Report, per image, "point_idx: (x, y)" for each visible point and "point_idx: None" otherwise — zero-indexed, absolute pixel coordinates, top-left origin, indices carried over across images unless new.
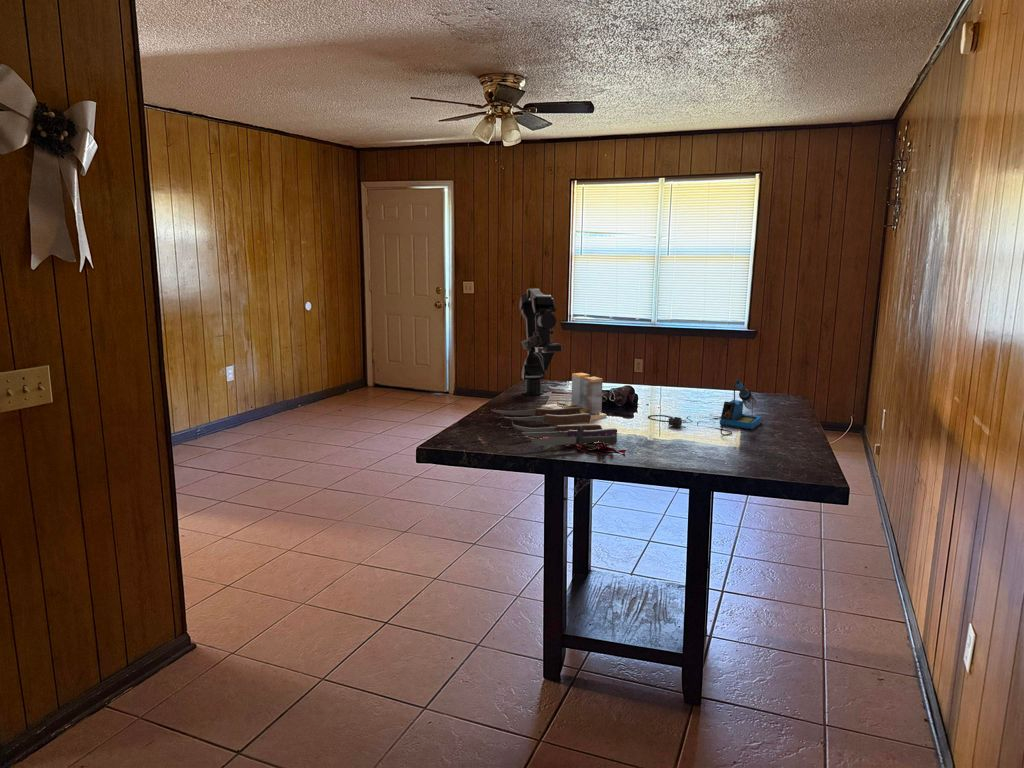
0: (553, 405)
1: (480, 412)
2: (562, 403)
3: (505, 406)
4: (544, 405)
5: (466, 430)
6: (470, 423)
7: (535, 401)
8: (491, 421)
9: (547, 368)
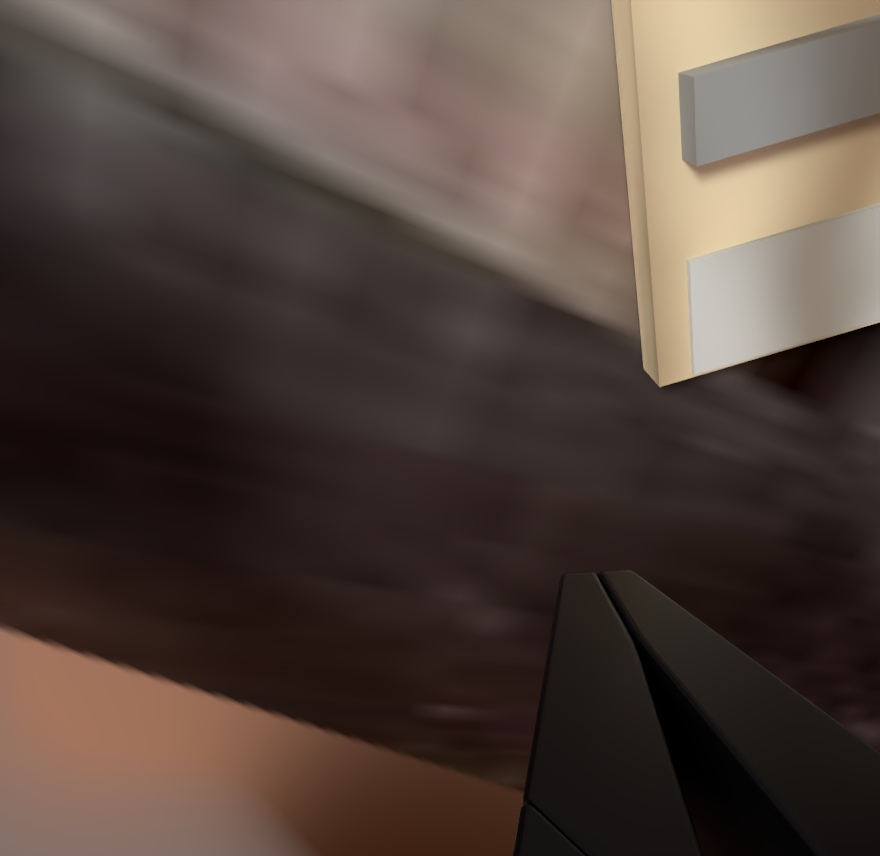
0: (755, 258)
1: None
2: (819, 127)
3: (399, 639)
4: (697, 364)
5: None
6: None
7: (223, 304)
8: None
9: (672, 601)
